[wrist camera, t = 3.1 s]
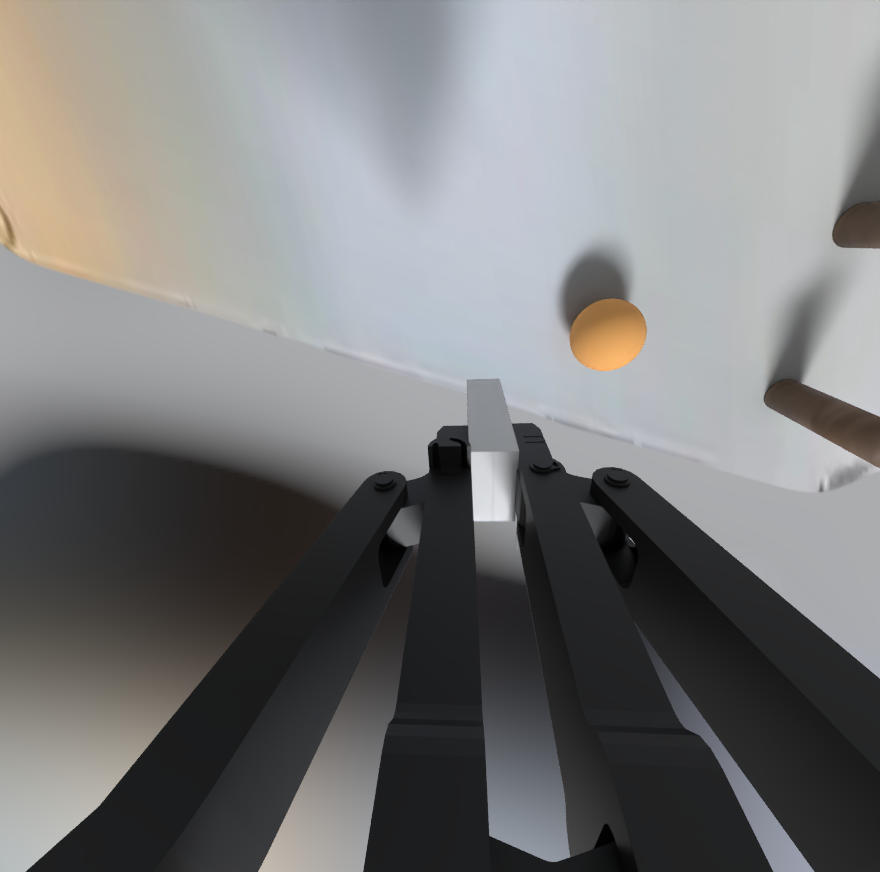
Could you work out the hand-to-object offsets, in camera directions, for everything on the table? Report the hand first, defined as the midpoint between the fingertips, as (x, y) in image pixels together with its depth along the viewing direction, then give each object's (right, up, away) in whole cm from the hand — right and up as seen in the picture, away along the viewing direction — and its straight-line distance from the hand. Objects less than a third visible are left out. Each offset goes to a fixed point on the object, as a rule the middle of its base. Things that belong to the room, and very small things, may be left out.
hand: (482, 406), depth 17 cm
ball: (+10, +6, +9) cm, 14 cm away
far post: (+26, +2, +13) cm, 29 cm away
